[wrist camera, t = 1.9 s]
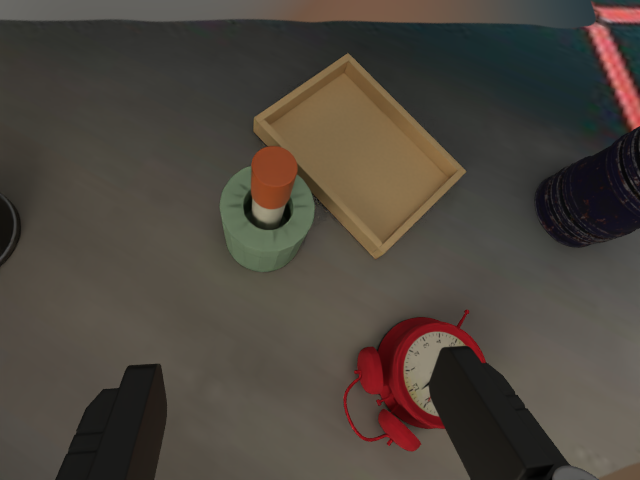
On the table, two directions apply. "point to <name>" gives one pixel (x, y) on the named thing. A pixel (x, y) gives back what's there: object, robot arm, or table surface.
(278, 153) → the marker
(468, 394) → the robot arm
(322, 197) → the tray
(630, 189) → the dark blue cylinder
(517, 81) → the table surface
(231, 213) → the green cylindrical pot
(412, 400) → the alarm clock
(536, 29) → the table surface
